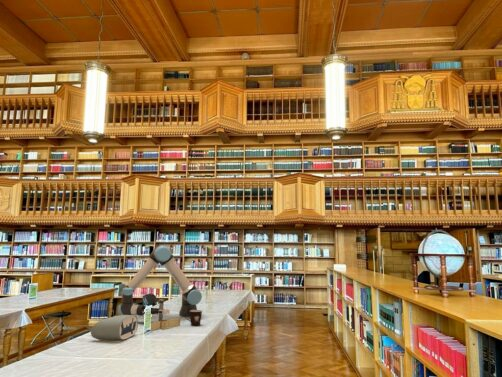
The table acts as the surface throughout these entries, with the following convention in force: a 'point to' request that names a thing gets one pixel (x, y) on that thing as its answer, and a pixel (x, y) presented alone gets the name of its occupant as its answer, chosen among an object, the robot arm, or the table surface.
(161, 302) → the hinge pin
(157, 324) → the hinge leaf
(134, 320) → the pencil case
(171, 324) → the hinge leaf
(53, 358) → the table surface
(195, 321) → the coffee mug
